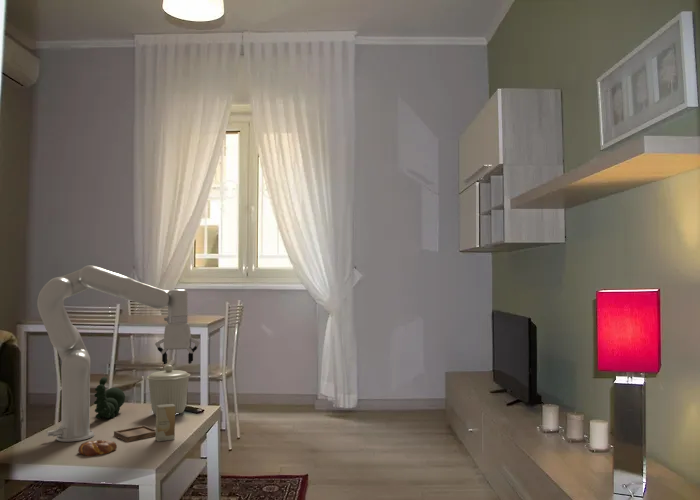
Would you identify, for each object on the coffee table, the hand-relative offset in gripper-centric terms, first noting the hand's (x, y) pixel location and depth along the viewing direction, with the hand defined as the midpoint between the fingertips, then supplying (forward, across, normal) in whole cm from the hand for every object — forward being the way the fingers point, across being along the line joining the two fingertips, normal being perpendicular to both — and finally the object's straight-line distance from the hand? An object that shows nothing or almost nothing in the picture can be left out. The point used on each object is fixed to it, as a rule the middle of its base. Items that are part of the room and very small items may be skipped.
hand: (177, 363), depth 230 cm
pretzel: (+25, -20, -31) cm, 45 cm away
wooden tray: (+25, -13, -12) cm, 30 cm away
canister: (+25, -9, +23) cm, 35 cm away
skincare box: (+25, 0, -18) cm, 31 cm away
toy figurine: (+25, -34, +22) cm, 47 cm away
